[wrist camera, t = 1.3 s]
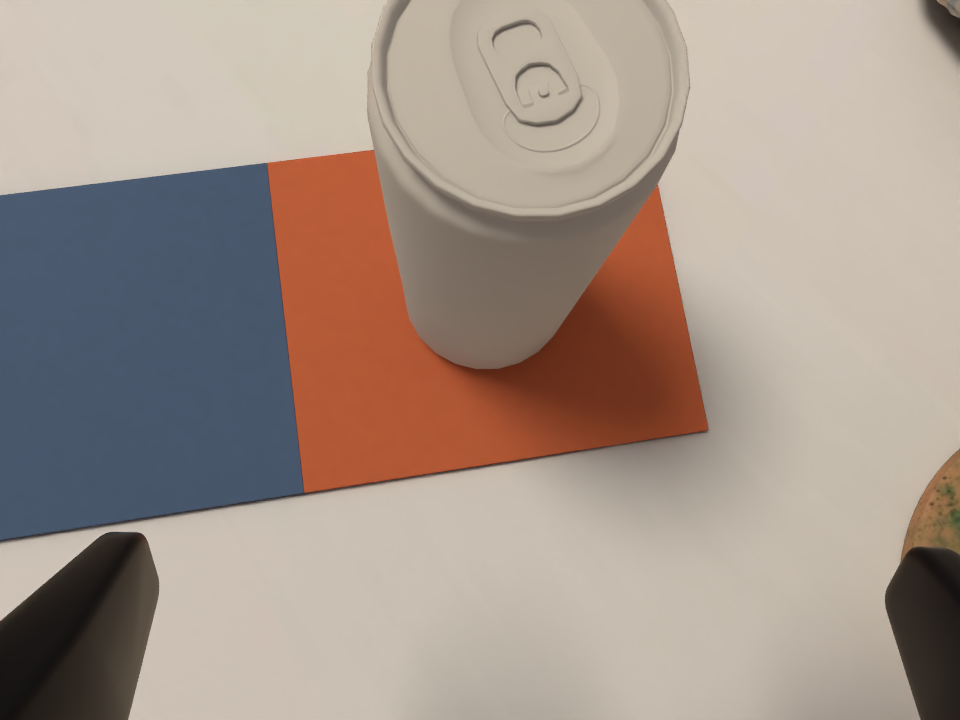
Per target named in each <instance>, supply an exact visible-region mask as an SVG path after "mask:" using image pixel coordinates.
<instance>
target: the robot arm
mask: <svg viewBox="0 0 960 720" xmlns="http://www.w3.org/2000/svg"><path fill="white" fill-rule="evenodd" d="M158 595H159V579H158V575H157V571H156V568H155V565H154V561H153V558H152V555H151V551H150V548H149V545H148V542H147V539H146V537H145V536H144V535H143V534H141V533H138V532H109V533H106V534H104V535H102V536H100V537H99V538H98V539H96V540H95V541H94V542H93V543H92V544H91V545H89V546H88V547H87V548H86V549H85V550H83V551H82V552H81V553H80V554H79V555H78V556H76V557H75V558H74V559H73V560H72V561H71V562H69V563H68V564H67V565H66V566H65V567H63V568H62V569H61V570H60V571H59V572H58V573H56V574H55V575H54V576H53V577H52V578H51V579H49V580H48V581H47V582H46V583H45V584H43V585H42V586H41V587H40V588H39V589H38V590H36V591H35V592H34V593H33V594H32V595H31V596H29V597H28V598H27V599H26V600H25V601H23V602H22V603H21V604H20V605H19V606H18V607H16V608H15V609H14V610H13V611H12V612H11V613H9V614H8V615H7V616H6V617H5V618H3V619H2V620H1V621H0V720H128V717H129V714H130V710H131V706H132V702H133V698H134V694H135V690H136V686H137V682H138V678H139V674H140V670H141V666H142V662H143V658H144V654H145V650H146V645H147V641H148V637H149V633H150V629H151V625H152V621H153V617H154V613H155V609H156V605H157V601H158ZM885 605H886V610H887V614H888V617H889V620H890V624H891V627H892V630H893V633H894V636H895V640H896V643H897V646H898V649H899V652H900V656H901V659H902V662H903V665H904V668H905V671H906V675H907V678H908V681H909V684H910V687H911V691H912V694H913V697H914V700H915V703H916V707H917V710H918V713H919V716H920V719H921V720H960V555H959V554H958V553H956V552H955V551H953V550H951V549H949V548H946V547H928V546H917V547H913V548H911V549H910V550H909V551H908V552H907V553H906V554H905V556H904V558H903V560H902V562H901V563H900V565H899V567H898V569H897V571H896V572H895V574H894V576H893V578H892V580H891V581H890V583H889V585H888V587H887V589H886V594H885Z"/></svg>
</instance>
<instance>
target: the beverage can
mask: <svg viewBox="0 0 960 720" xmlns="http://www.w3.org/2000/svg"><path fill="white" fill-rule="evenodd" d="M689 90H690V78H689V65H688V53H687V47H686V44H685V41H684V38H683V36H682V33H681V30H680V27H679V25H678V22H677V19H676V16H675V14H674V11H673V10H672V8H671V7H670V6H669V4H668V3H667V1H666V0H388V1H387V3H386V5H385V6H384V8H383V10H382V13H381V16H380V20H379V23H378V26H377V29H376V33H375V36H374V39H373V42H372V59H371V63H370V66H369V69H368V95H367V112H368V121H369V126H370V131H371V136H372V141H373V147H374V152H375V157H376V162H377V167H378V172H379V178H380V183H381V188H382V193H383V198H384V203H385V209H386V213H387V218H388V223H389V228H390V233H391V237H392V241H393V246H394V250H395V254H396V258H397V263H398V267H399V272H400V276H401V281H402V285H403V291H404V296H405V301H406V306H407V311H408V316H409V320H410V322H411V323H412V325H413V327H414V329H415V330H416V332H417V334H418V336H419V337H420V338H421V339H422V340H423V341H424V342H425V343H426V344H427V345H428V346H429V347H430V348H431V349H432V350H433V351H434V352H435V353H436V354H438V355H440V356H442V357H444V358H445V359H447V360H449V361H451V362H453V363H455V364H458V365H462V366H466V367H470V368H474V369H500V368H503V367H507V366H511V365H514V364H518V363H520V362H522V361H524V360H525V359H527V358H529V357H531V356H532V355H534V354H536V353H537V352H539V351H540V350H541V348H542V347H543V346H544V345H545V344H546V343H547V342H548V341H549V340H550V339H551V338H552V337H553V336H554V334H555V333H556V332H557V330H558V329H559V327H560V326H561V324H562V323H563V321H564V320H565V319H566V317H567V316H568V314H569V313H570V311H571V310H572V308H573V307H574V305H575V304H576V303H577V301H578V300H579V298H580V297H581V295H582V294H583V292H584V291H585V289H586V288H587V287H588V285H589V284H590V282H591V281H592V279H593V278H594V276H595V275H596V273H597V272H598V271H599V269H600V268H601V266H602V265H603V263H604V262H605V260H606V259H607V257H608V256H609V255H610V253H611V252H612V250H613V249H614V247H615V246H616V244H617V243H618V241H619V240H620V239H621V237H622V236H623V234H624V233H625V231H626V230H627V228H628V227H629V225H630V224H631V223H632V221H633V220H634V218H635V217H636V215H637V214H638V212H639V211H640V209H641V208H642V207H643V205H644V204H645V202H646V201H647V199H648V198H649V196H650V195H651V194H652V192H653V191H654V189H655V187H656V185H657V184H658V182H659V180H660V178H661V176H662V174H663V172H664V171H665V169H666V167H667V165H668V163H669V161H670V159H671V157H672V156H673V154H674V152H675V149H676V144H677V140H678V135H679V130H680V127H681V126H682V122H683V118H684V113H685V108H686V104H687V99H688V94H689Z"/></svg>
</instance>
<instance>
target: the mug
mask: <svg viewBox="0 0 960 720" xmlns="http://www.w3.org/2000/svg"><path fill="white" fill-rule="evenodd" d="M917 546H928V547H946V548H949V549H951V550H953V551H955V552H956V553H958V554H959V555H960V449H959V450H958V451H957V452H956V453H955V454H954V455H953V456H952V457H951V458H950V459H949V460H948V461H947V462H946V463H945V464H944V465H943V466H942V467H941V469H940V470H939V471H938V472H937V473H936V475H935V476H934V478H933V479H932V481H931V482H930V483H929V485H928V486H927V488H926V490H925V492H924V493H923V495H922V497H921V499H920V501H919V503H918V505H917V507H916V509H915V511H914V514H913V517H912V519H911V522H910V524H909V528H908V531H907V535H906V538H905V542H904V547H903V552H902V558H901V562H902V560H903V558H904V556H905V554H906V553H907V552H908V551H909V550H910V549H911V548H913V547H917Z"/></svg>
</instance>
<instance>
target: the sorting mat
mask: <svg viewBox="0 0 960 720" xmlns="http://www.w3.org/2000/svg"><path fill="white" fill-rule="evenodd" d="M707 430H708V425H707V420H706V415H705V410H704V405H703V401H702V396H701V391H700V386H699V381H698V377H697V372H696V367H695V362H694V357H693V353H692V348H691V343H690V338H689V333H688V329H687V324H686V319H685V314H684V309H683V305H682V300H681V295H680V290H679V285H678V281H677V276H676V271H675V266H674V261H673V257H672V252H671V247H670V242H669V237H668V233H667V228H666V223H665V218H664V213H663V209H662V204H661V199H660V194H659V189H658V185H656V187H655V189H654V191H653V192H652V194H651V195H650V196H649V198H648V199H647V201H646V202H645V204H644V205H643V207H642V208H641V209H640V211H639V212H638V214H637V215H636V217H635V218H634V220H633V221H632V223H631V224H630V225H629V227H628V228H627V230H626V231H625V233H624V234H623V236H622V237H621V239H620V240H619V241H618V243H617V244H616V246H615V247H614V249H613V250H612V252H611V253H610V255H609V256H608V257H607V259H606V260H605V262H604V263H603V265H602V266H601V268H600V269H599V271H598V272H597V273H596V275H595V276H594V278H593V279H592V281H591V282H590V284H589V285H588V287H587V288H586V289H585V291H584V292H583V294H582V295H581V297H580V298H579V300H578V301H577V303H576V304H575V305H574V307H573V308H572V310H571V311H570V313H569V314H568V316H567V317H566V319H565V320H564V321H563V323H562V324H561V326H560V327H559V329H558V330H557V332H556V333H555V334H554V336H553V337H552V338H551V339H550V340H549V341H548V342H547V343H546V344H545V345H544V346H543V347H542V348H541V350H540V351H539V352H537V353H536V354H534V355H532V356H531V357H529V358H527V359H525V360H524V361H522V362H520V363H518V364H514V365H511V366H507V367H503V368H500V369H474V368H470V367H466V366H462V365H458V364H455V363H453V362H451V361H449V360H447V359H445V358H444V357H442V356H440V355H438V354H436V353H435V352H434V351H433V350H432V349H431V348H430V347H429V346H428V345H427V344H426V343H425V342H424V341H423V340H422V339H421V338H420V337H419V336H418V334H417V332H416V330H415V329H414V327H413V325H412V323H411V322H410V320H409V316H408V311H407V306H406V301H405V296H404V291H403V285H402V281H401V276H400V272H399V267H398V263H397V258H396V254H395V250H394V246H393V241H392V237H391V233H390V228H389V223H388V218H387V213H386V209H385V203H384V198H383V193H382V188H381V183H380V178H379V172H378V167H377V162H376V157H375V152H374V150H370V151H361V152H353V153H345V154H337V155H329V156H320V157H312V158H304V159H296V160H287V161H279V162H271V163H263V164H255V165H246V166H238V167H230V168H222V169H214V170H205V171H197V172H189V173H181V174H172V175H164V176H156V177H148V178H140V179H131V180H123V181H115V182H107V183H98V184H90V185H82V186H74V187H66V188H57V189H49V190H41V191H33V192H25V193H16V194H8V195H0V540H6V539H13V538H19V537H26V536H32V535H38V534H45V533H51V532H58V531H64V530H71V529H77V528H84V527H90V526H96V525H103V524H109V523H116V522H122V521H129V520H135V519H141V518H148V517H154V516H161V515H167V514H174V513H180V512H186V511H193V510H199V509H206V508H212V507H219V506H225V505H232V504H238V503H244V502H251V501H257V500H264V499H270V498H277V497H283V496H289V495H296V494H302V493H309V492H315V491H322V490H328V489H335V488H341V487H347V486H354V485H360V484H367V483H373V482H380V481H386V480H392V479H399V478H405V477H412V476H418V475H425V474H431V473H438V472H444V471H450V470H457V469H463V468H470V467H476V466H483V465H489V464H495V463H502V462H508V461H515V460H521V459H528V458H534V457H541V456H547V455H553V454H560V453H566V452H573V451H579V450H586V449H592V448H598V447H605V446H611V445H618V444H624V443H631V442H637V441H643V440H650V439H656V438H663V437H669V436H676V435H682V434H689V433H695V432H701V431H707Z"/></svg>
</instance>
